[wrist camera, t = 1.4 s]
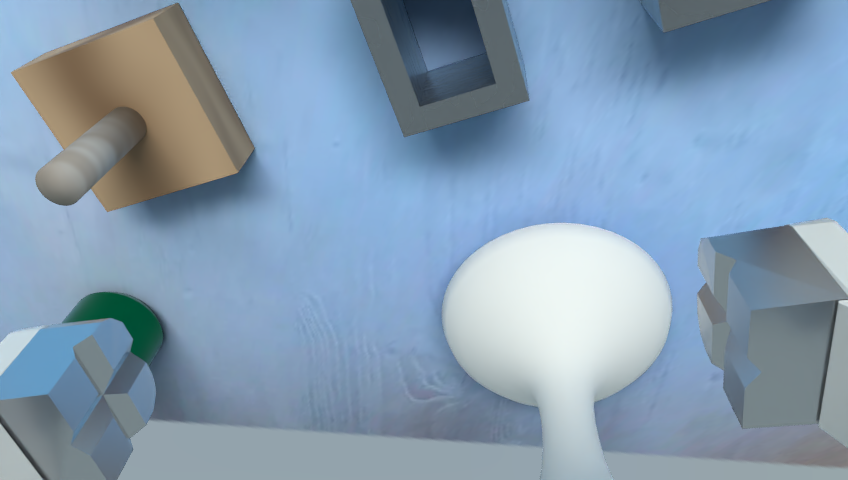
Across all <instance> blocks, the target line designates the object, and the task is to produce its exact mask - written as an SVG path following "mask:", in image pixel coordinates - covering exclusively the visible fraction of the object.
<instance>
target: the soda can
mask: <svg viewBox="0 0 848 480" xmlns="http://www.w3.org/2000/svg"><path fill="white" fill-rule="evenodd" d="M106 318H112V319H115V320H118V321H121V322H123V324H124V325H125V327H126V329H127V330H128V332H129V333H130V335H131V337H132V338H133V342H132V346H131V350H130V352H131V353H133V354H134V355H136V356H137V357H139V358H140V359H142V360H143V361H145V362H146V363H147V365H148V367H149V366H150V364H151V363H152V361H153V359H154V358H155V356H156V354H157V353H158V351H159V349H160V348H161V345H162V343H163V331H162V328H161V325H160V323H159V321H158V319H157V317H156V315H155V314H154V312H153V311H152V310H151V309H150V308H149V307H148V306H147V305H146V304H144V303H143V302H141V301H140V300H138V299H136V298H134V297H132V296H130V295H127V294H123V293H118V292H99V293H94V294H90V295H88V296H86V297H84V298H83V299H81V300H80V301H79V302H78V304H77V305H76V306H75V307H74V308H73V310H72V311H71V312H70V313H69V315H68V316H67V317H66V318H65V319H64V321H63V322H62V323H61V324H63V323H71V322H80V321H89V320H98V319H106Z"/></svg>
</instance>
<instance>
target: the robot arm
mask: <svg viewBox="0 0 848 480" xmlns="http://www.w3.org/2000/svg"><path fill="white" fill-rule="evenodd" d="M698 267H699V269H700V271H701V273H702V275H703V277H704V279H705V281H706V283H705V285H704V286H703V287H702V288H701V289H700V291H699V292H698V293H697V314H698V320H699V327H700V333H701V337H702V340H703V343H704V347H705V349H706V352H707V354H708V356H709V359H710V361H711V363H712V364H714V365H716V366H717V367H719V368H721V369H722V370H724V382H723V389H724V391H725V393H726V395H727V397H728V400H729V402H730V404H731V406H732V408H733V410H734V412H735V414H736V416H737V418H738V421H739V423H740V425H741V427H742V429H748V428H762V427H776V426H791V425H805V424H819V426H818V427H819V428H821V429H822V430H823V431H825V432H826V433H828V434H829V435H830V436H832V437H833V438H834V439H836V440H837V441H839V442H840V443H841V444H843V445H844V446H845V447H847V448H848V233H847V232H846V231H845V230H844V229H843V228H842V227H841V226H840V225H839V224H838V223H837V222H836V221H835V220H832V219H829V218H823V219H817V220H811V221H805V222H799V223H793V224H788V225H784V226H779V227H773V228H766V229H760V230H753V231H747V232H740V233H734V234H727V235H721V236H714V237H708V238H701V240H700V244H699V248H698ZM132 342H133V338H132V337H131V335H130V333H129V332H128V330H127V329H126V327H125V325H124V324H123V322H121V321H118V320H115V319H112V318H106V319H98V320H89V321H80V322H71V323H63V324H54V325H50V326H46V325H45V326H38V327H31V328H24V329H20V330H17V331H14V332H11V333H9V334H8V335H7V336H6V337H5V339H4V340H3V341H2V342H1V343H0V480H117V479H118V477H119V475H120V473H121V471H122V470H123V468H124V466H125V464H126V462H127V460H128V458H129V457H130V455H131V453H132V451H133V447H132V444H131V440H130V438H131V437H132V436H133V435H135V434H136V433H137V432H138V431H139V430H141V429H142V428H143V427H144V426H146V424H147V422H148V420H149V418H150V416H151V414H152V412H153V410H154V406H155V397H156V386H155V382H154V378H153V374H152V372H151V371H150V369H149V367H148V365H147V363H146V362H145V361H143V360H142V359H140V358H139V357H137V356H136V355H134V354H133V353H131V352H130V350H131V346H132Z"/></svg>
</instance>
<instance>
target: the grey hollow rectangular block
mask: <svg viewBox="0 0 848 480" xmlns="http://www.w3.org/2000/svg"><path fill="white" fill-rule="evenodd" d="M471 2H472V5H473V8H474V12H475V15H476V18H477V22H478V25H479V28H480V32H481V35H482V38H483V42H484V45H485V48H486V52H487V53H485V54H482V55H478V56H475V57H472V58H469V59H466V60H463V61H459V62H456V63H453V64H450V65H447V66H444V67H441V68H437V69H434V70H431V71H427V69H426V66H425V63H424V60H423V57H422V54H421V51H420V49H419V46H418V43H417V40H416V37H415V34H414V32H413V29H412V26H411V23H410V20H409V17H408V15H407V12H406V9H405V6H404V3H403V0H351V3H352V5H353V8H354V10H355V13H356V15H357V18H358V21H359V23H360V26H361V28H362V31H363V33H364V36H365V38H366V41H367V43H368V46H369V49H370V51H371V54H372V56H373V59H374V61H375V64H376V66H377V69H378V71H379V74H380V77H381V79H382V82H383V84H384V87H385V89H386V92H387V94H388V97H389V100H390V102H391V105H392V107H393V110H394V112H395V115H396V117H397V120H398V122H399V125H400V128H401V130H402V133H403V135H404V137H407V136H410V135H414V134H417V133H420V132H424V131H427V130H431V129H434V128H438V127H441V126H444V125H448V124H451V123H455V122H458V121H461V120H465V119H468V118H472V117H475V116H478V115H482V114H485V113H489V112H492V111H495V110H499V109H502V108H506V107H509V106H512V105H516V104H519V103H523V102H526V101H529V94H528V87H527V80H526V73H525V67H524V62H523V59H522V55H521V51H520V48H519V44H518V40H517V37H516V33H515V29H514V26H513V22H512V18H511V15H510V11H509V7H508V4H507V0H471Z"/></svg>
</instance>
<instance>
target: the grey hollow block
mask: <svg viewBox="0 0 848 480" xmlns="http://www.w3.org/2000/svg"><path fill="white" fill-rule="evenodd" d="M640 1H641V5H642V6H643V7H644V9H645V10H646V11H647V12H648V14H649V15H650V16H651V17H652V19H653V20H654V21H655V23H656V24H657V25H658V26H659V28H660V29H661V30H662V32H663V33H665V32H668V31H671V30H675V29H678V28H681V27H684V26H688V25H691V24H694V23H698V22H701V21H704V20H707V19H711V18H714V17H717V16H721V15H724V14H727V13H731V12H734V11H737V10H740V9H744V8H747V7H750V6H754V5H757V4H760V3H763V2H767V1H770V0H640Z"/></svg>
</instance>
